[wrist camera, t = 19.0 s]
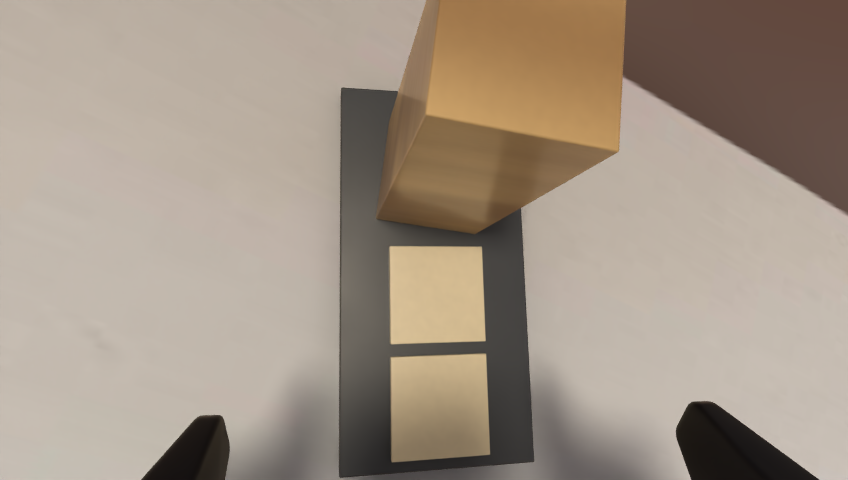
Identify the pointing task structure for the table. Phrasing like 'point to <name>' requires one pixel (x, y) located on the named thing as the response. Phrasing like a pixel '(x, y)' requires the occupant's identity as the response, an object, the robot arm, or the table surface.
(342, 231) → the word board
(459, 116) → the tall tan block
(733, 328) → the table surface
